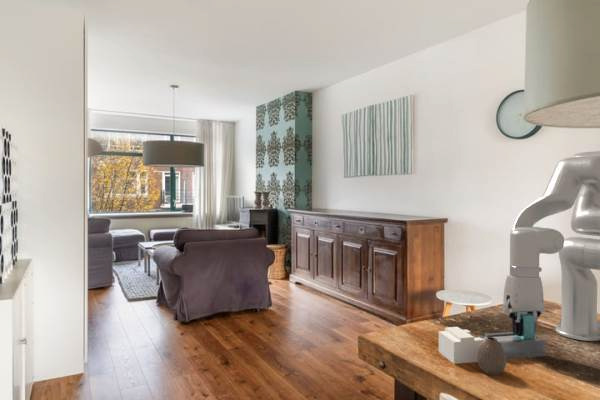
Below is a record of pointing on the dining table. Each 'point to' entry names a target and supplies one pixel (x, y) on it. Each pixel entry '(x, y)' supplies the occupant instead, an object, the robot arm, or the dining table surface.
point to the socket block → (459, 345)
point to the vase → (491, 357)
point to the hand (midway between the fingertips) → (523, 333)
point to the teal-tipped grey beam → (527, 329)
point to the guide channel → (521, 346)
